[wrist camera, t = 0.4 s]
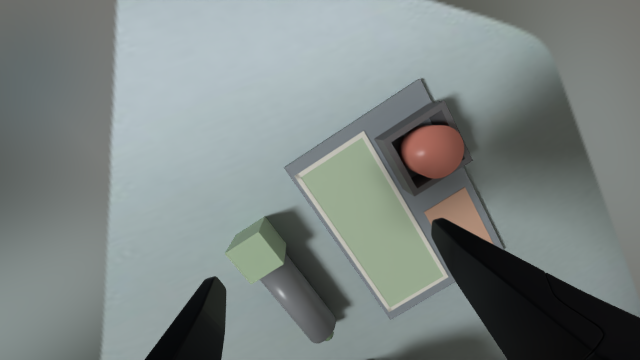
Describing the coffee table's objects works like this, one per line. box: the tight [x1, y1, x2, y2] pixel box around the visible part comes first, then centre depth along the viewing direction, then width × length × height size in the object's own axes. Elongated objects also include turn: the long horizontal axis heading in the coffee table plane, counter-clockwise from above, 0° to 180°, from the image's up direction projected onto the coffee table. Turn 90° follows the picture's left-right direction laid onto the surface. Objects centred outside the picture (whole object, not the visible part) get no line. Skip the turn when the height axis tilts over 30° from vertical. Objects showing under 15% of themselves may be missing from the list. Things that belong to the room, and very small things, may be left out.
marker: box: [225, 217, 336, 343], centre depth 23 cm, size 14×3×3 cm, turn 33°
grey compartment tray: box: [284, 79, 504, 320], centre depth 22 cm, size 20×14×3 cm
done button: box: [399, 125, 464, 179], centre depth 19 cm, size 4×4×3 cm
